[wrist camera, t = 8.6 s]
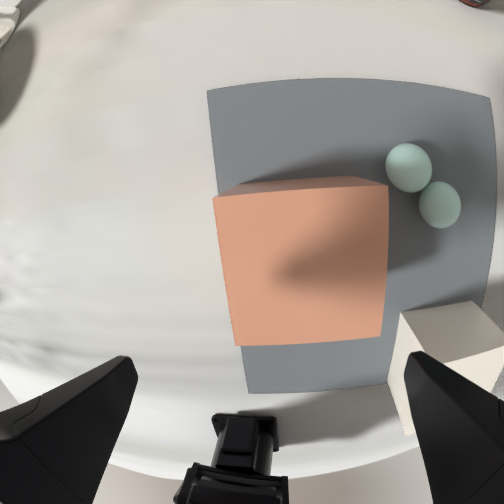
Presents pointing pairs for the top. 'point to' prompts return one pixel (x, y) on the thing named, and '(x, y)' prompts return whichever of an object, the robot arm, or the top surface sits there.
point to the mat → (371, 168)
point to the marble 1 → (408, 167)
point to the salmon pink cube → (304, 259)
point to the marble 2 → (439, 204)
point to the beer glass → (7, 23)
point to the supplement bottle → (475, 2)
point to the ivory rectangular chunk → (446, 348)
